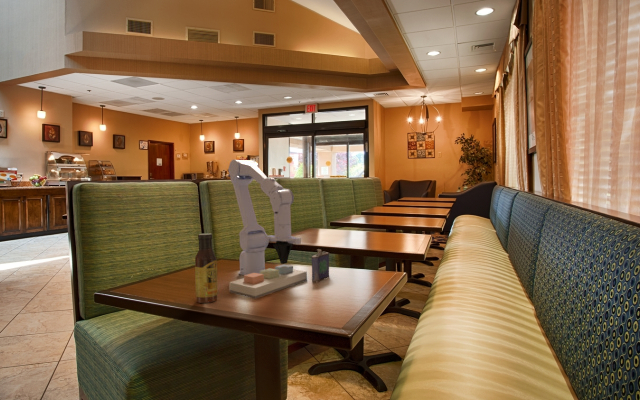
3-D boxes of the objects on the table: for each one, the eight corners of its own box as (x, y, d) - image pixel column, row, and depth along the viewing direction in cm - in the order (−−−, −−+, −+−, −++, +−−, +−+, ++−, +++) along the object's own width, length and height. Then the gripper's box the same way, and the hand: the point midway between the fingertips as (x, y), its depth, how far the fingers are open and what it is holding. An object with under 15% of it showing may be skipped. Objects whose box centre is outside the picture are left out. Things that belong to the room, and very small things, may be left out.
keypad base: (229, 292, 117) (229, 282, 117) (281, 276, 136) (281, 267, 136) (255, 298, 109) (254, 288, 109) (306, 280, 128) (306, 271, 128)
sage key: (260, 279, 122) (260, 271, 122) (269, 276, 126) (269, 268, 125) (269, 281, 119) (269, 272, 119) (279, 278, 123) (278, 269, 123)
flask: (316, 283, 125) (315, 251, 125) (309, 281, 127) (308, 251, 126) (331, 276, 133) (330, 247, 132) (324, 276, 134) (323, 246, 134)
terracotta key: (244, 284, 117) (243, 275, 116) (254, 281, 120) (254, 272, 120) (253, 286, 114) (253, 277, 114) (263, 283, 117) (263, 274, 117)
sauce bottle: (211, 304, 105) (208, 235, 104) (191, 303, 107) (188, 235, 106) (222, 297, 112) (219, 232, 111) (203, 296, 113) (200, 232, 112)
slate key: (275, 274, 128) (275, 266, 128) (284, 272, 131) (283, 264, 131) (284, 276, 125) (284, 268, 125) (293, 273, 128) (292, 265, 128)
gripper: (259, 224, 128) (261, 263, 129) (290, 226, 120) (291, 267, 120) (273, 222, 134) (275, 259, 135) (304, 224, 125) (305, 263, 126)
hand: (283, 263), depth 128 cm, fingers closed
